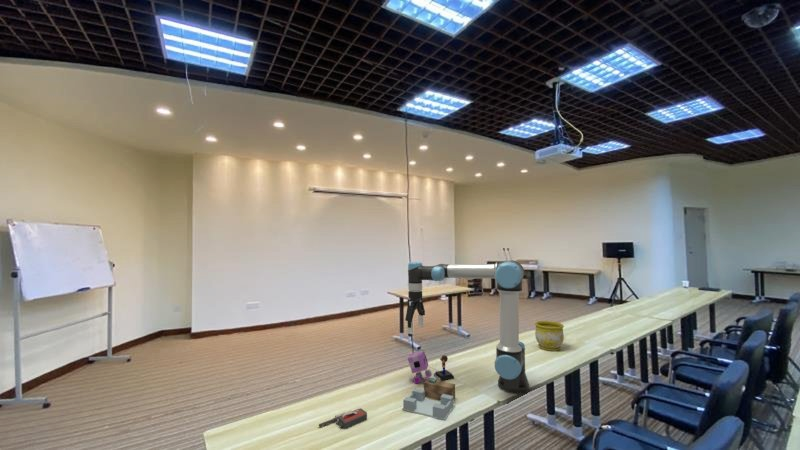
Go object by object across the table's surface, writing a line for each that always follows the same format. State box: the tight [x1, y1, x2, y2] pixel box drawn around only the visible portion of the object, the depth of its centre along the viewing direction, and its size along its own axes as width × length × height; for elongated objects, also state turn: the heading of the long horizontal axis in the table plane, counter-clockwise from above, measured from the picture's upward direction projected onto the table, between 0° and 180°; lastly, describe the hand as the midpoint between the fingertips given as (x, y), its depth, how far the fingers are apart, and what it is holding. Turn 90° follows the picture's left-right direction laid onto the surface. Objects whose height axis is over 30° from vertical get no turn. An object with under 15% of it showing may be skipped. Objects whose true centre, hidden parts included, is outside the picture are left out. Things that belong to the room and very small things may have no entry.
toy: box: [407, 349, 432, 384], centre depth 184 cm, size 11×8×15 cm
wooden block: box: [423, 377, 456, 402], centre depth 164 cm, size 14×5×8 cm, turn 64°
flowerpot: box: [534, 320, 565, 352], centre depth 235 cm, size 18×18×16 cm
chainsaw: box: [318, 408, 368, 430], centre depth 143 cm, size 9×4×20 cm
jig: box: [401, 387, 456, 421], centre depth 155 cm, size 20×13×4 cm, turn 63°
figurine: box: [433, 354, 455, 382], centre depth 188 cm, size 8×8×12 cm
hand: (415, 330), depth 185 cm, fingers open, 13 cm apart
